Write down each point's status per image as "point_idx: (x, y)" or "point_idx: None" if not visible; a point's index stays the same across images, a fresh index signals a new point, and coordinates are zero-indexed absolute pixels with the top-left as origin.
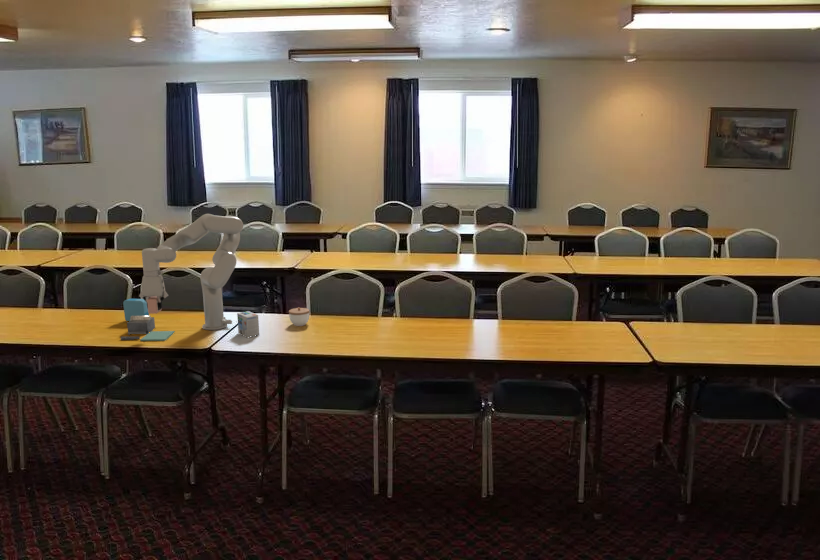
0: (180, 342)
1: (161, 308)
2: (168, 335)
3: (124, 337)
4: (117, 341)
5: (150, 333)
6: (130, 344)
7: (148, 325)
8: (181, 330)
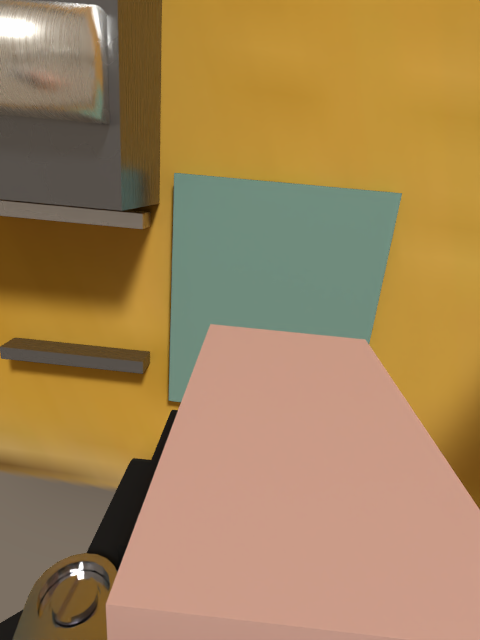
0: (465, 463)
1: (372, 355)
2: (364, 330)
3: (32, 359)
4: (9, 375)
5: (192, 247)
6: (131, 451)
7: (137, 169)
8: (456, 121)
